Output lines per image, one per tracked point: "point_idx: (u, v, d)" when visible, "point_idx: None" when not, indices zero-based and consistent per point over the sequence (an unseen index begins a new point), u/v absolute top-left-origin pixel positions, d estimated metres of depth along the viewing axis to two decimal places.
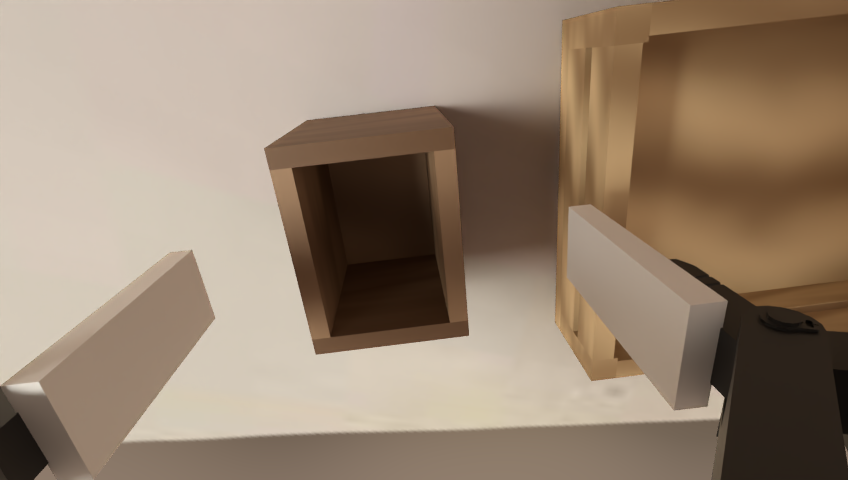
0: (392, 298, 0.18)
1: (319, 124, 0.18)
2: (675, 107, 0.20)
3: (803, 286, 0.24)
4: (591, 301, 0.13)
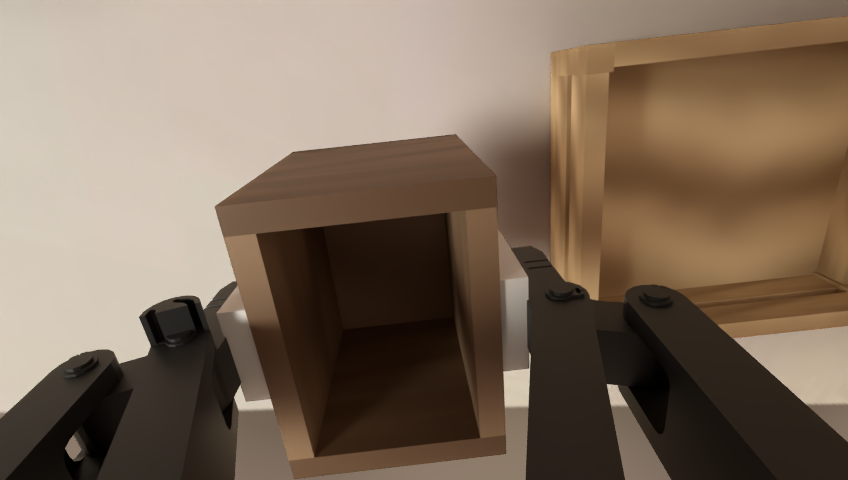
0: (400, 389, 0.14)
1: (306, 160, 0.13)
2: (647, 123, 0.23)
3: (770, 280, 0.27)
4: None
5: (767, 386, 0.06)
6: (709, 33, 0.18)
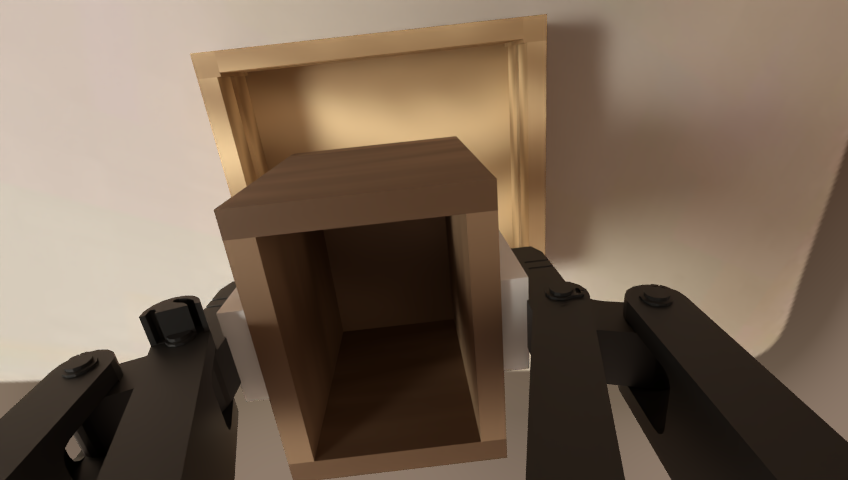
0: (400, 392, 0.14)
1: (306, 162, 0.13)
2: (323, 119, 0.27)
3: None
4: None
5: (767, 386, 0.06)
6: (295, 43, 0.21)
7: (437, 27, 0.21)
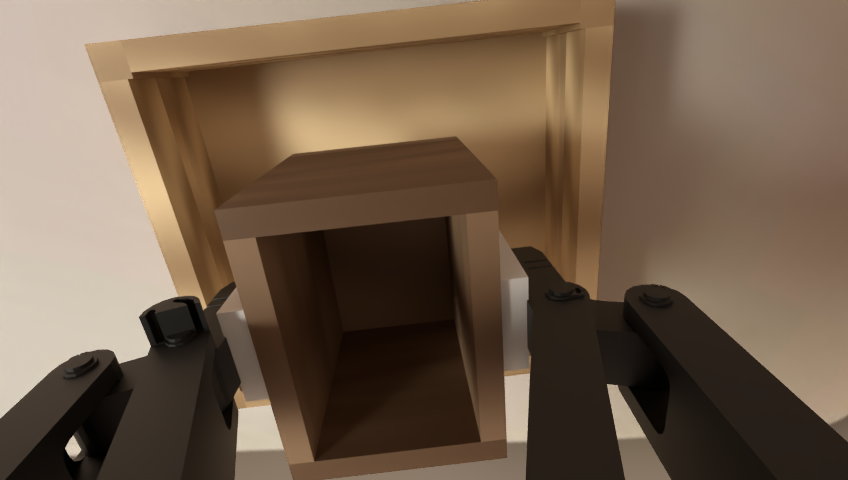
0: (400, 392, 0.14)
1: (306, 162, 0.13)
2: (295, 136, 0.20)
3: None
4: None
5: (768, 387, 0.06)
6: (242, 29, 0.14)
7: (454, 5, 0.14)
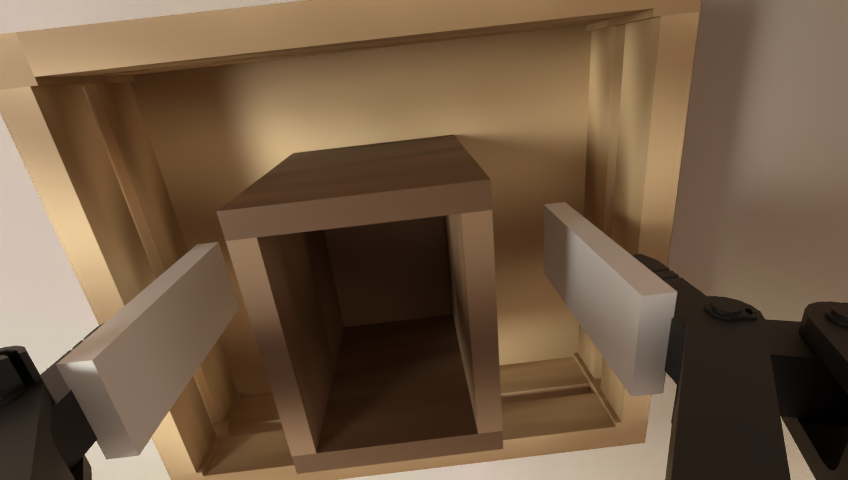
0: (399, 385, 0.14)
1: (306, 162, 0.14)
2: (272, 155, 0.16)
3: (515, 364, 0.20)
4: (563, 296, 0.14)
5: None
6: (185, 17, 0.10)
7: None
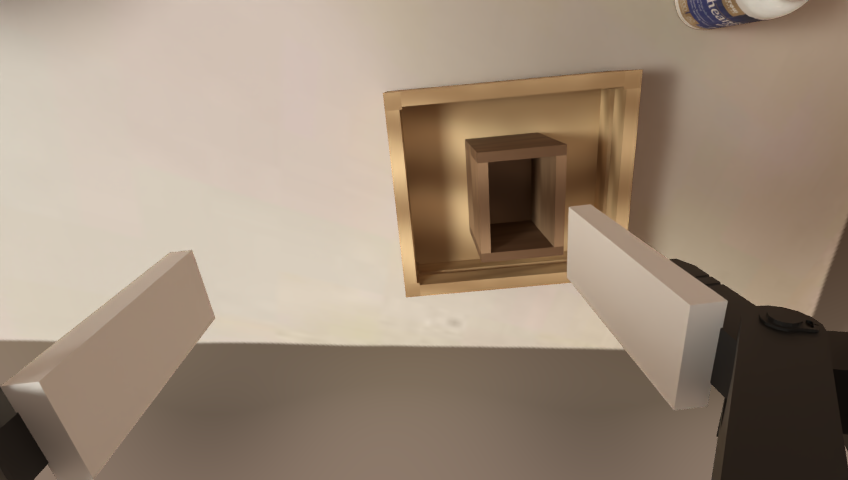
0: (516, 238, 0.33)
1: (480, 141, 0.32)
2: (455, 140, 0.35)
3: None
4: (591, 301, 0.13)
5: None
6: (458, 87, 0.29)
7: (562, 77, 0.29)
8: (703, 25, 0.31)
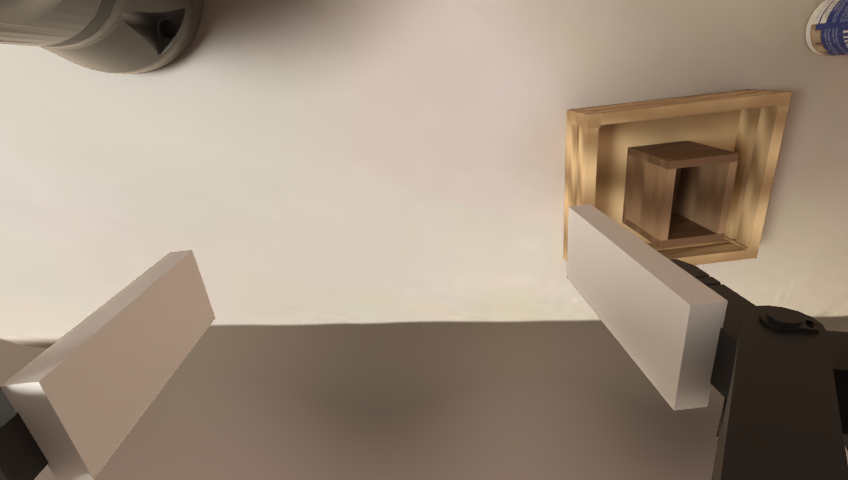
0: (677, 228, 0.41)
1: (649, 150, 0.40)
2: (620, 148, 0.42)
3: None
4: (591, 301, 0.13)
5: None
6: (647, 109, 0.37)
7: (729, 99, 0.37)
8: (831, 53, 0.39)
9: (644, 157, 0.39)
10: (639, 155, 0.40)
